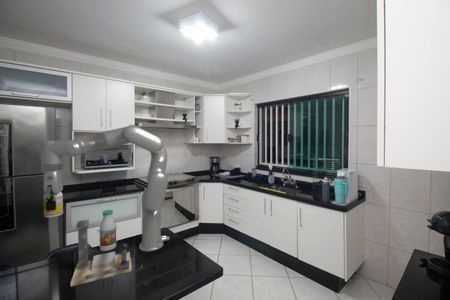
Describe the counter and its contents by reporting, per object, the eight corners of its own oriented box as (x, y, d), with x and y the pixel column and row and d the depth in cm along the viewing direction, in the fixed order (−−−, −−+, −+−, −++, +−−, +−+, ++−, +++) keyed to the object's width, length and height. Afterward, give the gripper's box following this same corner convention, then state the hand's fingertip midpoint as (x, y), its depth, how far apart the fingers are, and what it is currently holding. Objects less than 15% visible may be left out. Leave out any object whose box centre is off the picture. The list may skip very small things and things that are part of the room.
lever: (128, 263, 93) (128, 240, 92) (129, 267, 90) (129, 243, 90) (118, 265, 91) (118, 242, 91) (118, 269, 88) (118, 245, 88)
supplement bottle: (41, 216, 91) (40, 187, 91) (58, 211, 97) (57, 184, 96) (48, 219, 88) (47, 189, 87) (66, 214, 94) (65, 186, 93)
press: (129, 254, 104) (129, 212, 103) (131, 270, 91) (131, 223, 90) (77, 265, 94) (76, 219, 93) (70, 286, 81) (69, 232, 80)
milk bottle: (96, 249, 108) (95, 212, 107) (109, 242, 115) (109, 207, 115) (106, 252, 105) (106, 214, 104) (119, 245, 113) (119, 209, 112)
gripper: (57, 170, 86) (59, 212, 86) (67, 165, 101) (68, 201, 102) (34, 171, 82) (35, 215, 83) (47, 166, 97) (48, 203, 98)
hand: (53, 207), depth 92 cm, fingers closed on supplement bottle, 6 cm apart
